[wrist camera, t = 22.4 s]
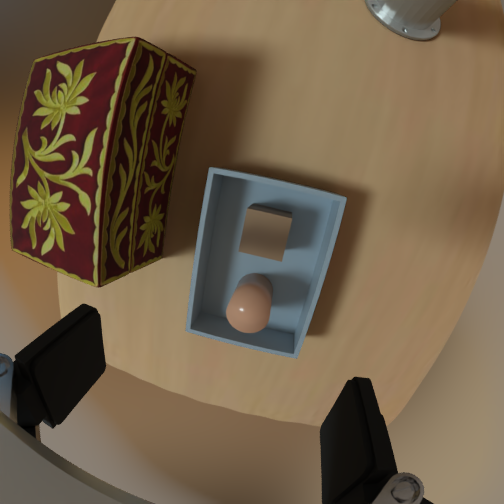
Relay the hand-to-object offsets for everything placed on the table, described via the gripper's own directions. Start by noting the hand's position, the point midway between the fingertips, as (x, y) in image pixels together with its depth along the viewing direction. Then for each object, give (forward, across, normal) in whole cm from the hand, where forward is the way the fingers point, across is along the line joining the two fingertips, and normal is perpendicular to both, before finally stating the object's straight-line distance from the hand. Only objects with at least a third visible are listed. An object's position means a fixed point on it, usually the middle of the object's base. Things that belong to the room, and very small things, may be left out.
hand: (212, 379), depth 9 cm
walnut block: (+28, 0, 0) cm, 28 cm away
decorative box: (+29, +23, -6) cm, 37 cm away
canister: (+28, 0, +9) cm, 29 cm away
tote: (+28, 0, +4) cm, 29 cm away
